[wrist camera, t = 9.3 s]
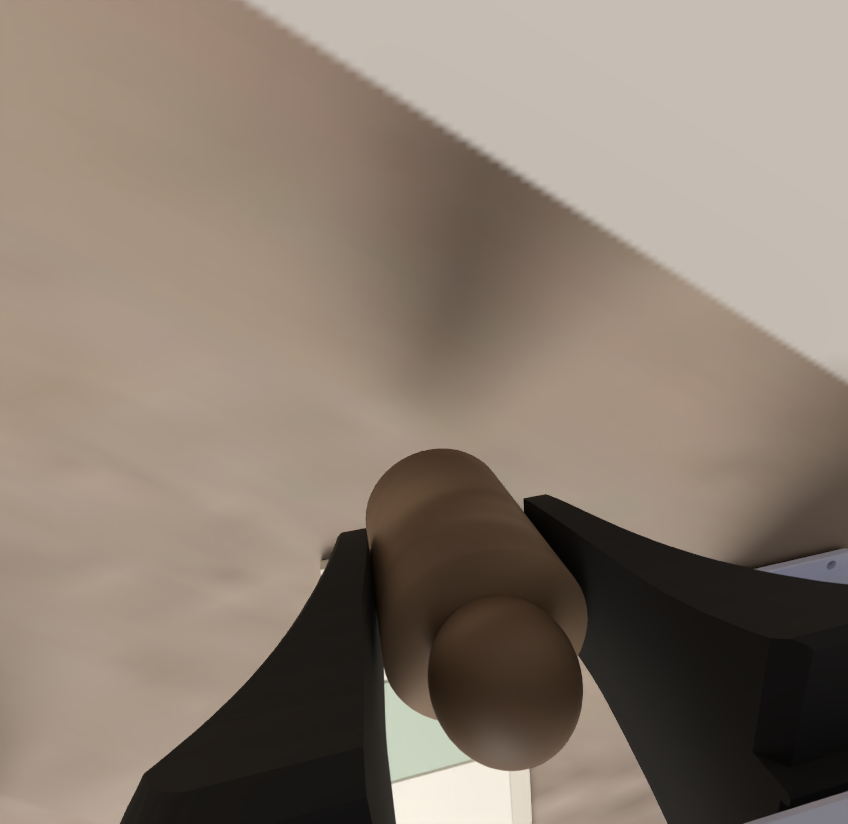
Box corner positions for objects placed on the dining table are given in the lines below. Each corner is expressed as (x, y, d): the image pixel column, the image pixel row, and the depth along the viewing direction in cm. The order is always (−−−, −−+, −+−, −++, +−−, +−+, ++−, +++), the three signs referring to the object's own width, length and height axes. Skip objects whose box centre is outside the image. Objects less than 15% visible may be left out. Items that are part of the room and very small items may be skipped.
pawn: (499, 438, 13) (665, 608, 6) (507, 560, 14) (651, 805, 8) (355, 461, 12) (378, 676, 6) (375, 586, 14) (413, 876, 7)
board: (513, 522, 20) (519, 531, 19) (530, 882, 27) (536, 898, 27) (320, 560, 18) (319, 572, 18) (394, 925, 26) (396, 942, 25)
